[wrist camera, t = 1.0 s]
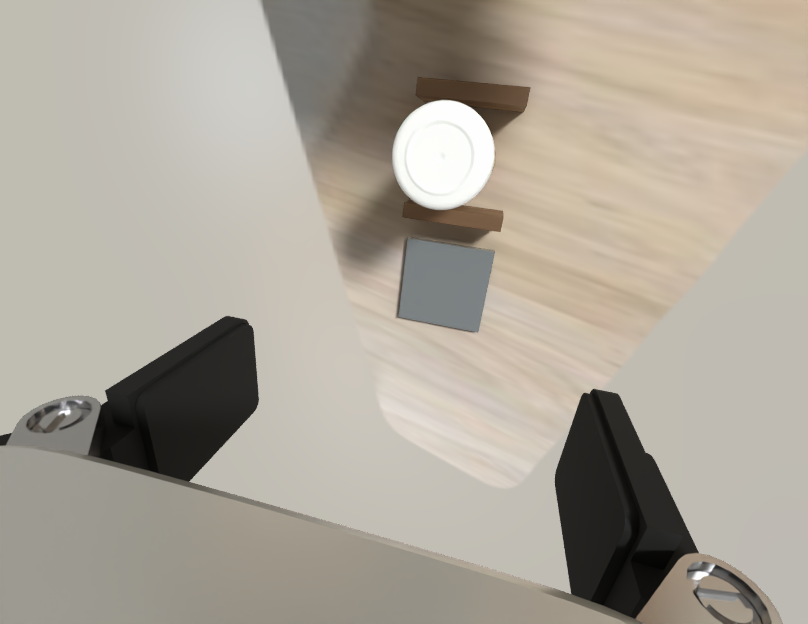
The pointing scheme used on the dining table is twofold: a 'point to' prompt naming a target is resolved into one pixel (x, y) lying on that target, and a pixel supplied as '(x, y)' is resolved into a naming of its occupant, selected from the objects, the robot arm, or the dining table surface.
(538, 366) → the dining table surface
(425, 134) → the sprinkles bottle
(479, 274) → the slate coaster
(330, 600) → the robot arm
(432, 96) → the walnut rack
